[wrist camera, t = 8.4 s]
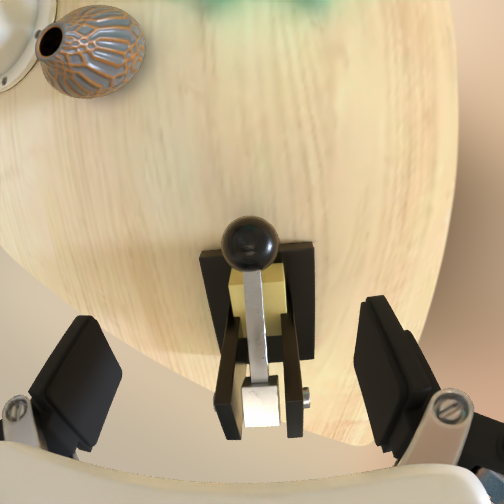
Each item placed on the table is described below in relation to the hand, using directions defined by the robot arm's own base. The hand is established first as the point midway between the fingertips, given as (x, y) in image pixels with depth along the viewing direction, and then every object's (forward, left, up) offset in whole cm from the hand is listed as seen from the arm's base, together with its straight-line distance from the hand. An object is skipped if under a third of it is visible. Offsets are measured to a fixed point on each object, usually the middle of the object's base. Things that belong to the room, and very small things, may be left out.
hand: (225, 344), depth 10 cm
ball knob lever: (+6, 0, -9) cm, 10 cm away
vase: (-14, -9, -15) cm, 22 cm away
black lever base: (+9, 0, -15) cm, 17 cm away
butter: (+7, 0, -14) cm, 15 cm away
